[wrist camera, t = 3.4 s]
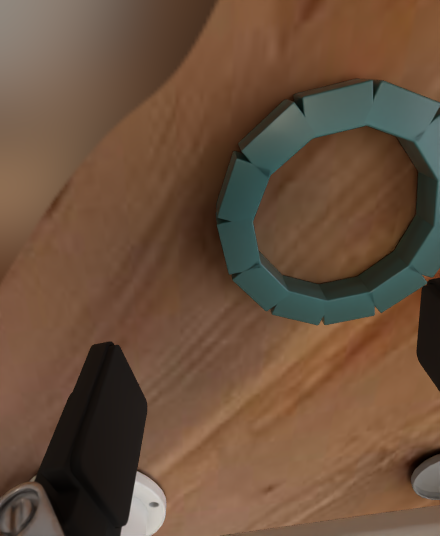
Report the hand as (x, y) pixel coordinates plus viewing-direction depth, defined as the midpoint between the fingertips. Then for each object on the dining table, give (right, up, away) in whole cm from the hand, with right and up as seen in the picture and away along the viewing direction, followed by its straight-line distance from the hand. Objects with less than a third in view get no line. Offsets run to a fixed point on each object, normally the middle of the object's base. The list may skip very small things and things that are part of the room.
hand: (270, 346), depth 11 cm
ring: (+5, +6, +8) cm, 11 cm away
